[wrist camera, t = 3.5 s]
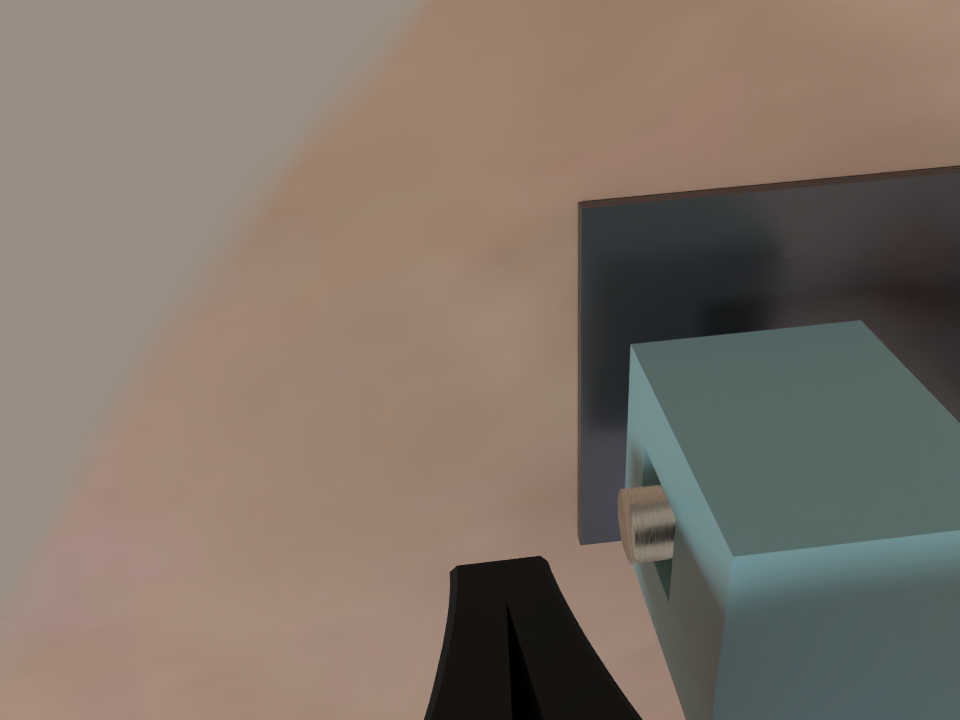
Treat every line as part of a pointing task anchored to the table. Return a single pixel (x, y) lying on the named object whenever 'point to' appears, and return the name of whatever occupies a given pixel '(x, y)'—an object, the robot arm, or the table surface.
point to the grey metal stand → (753, 300)
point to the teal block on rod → (800, 525)
